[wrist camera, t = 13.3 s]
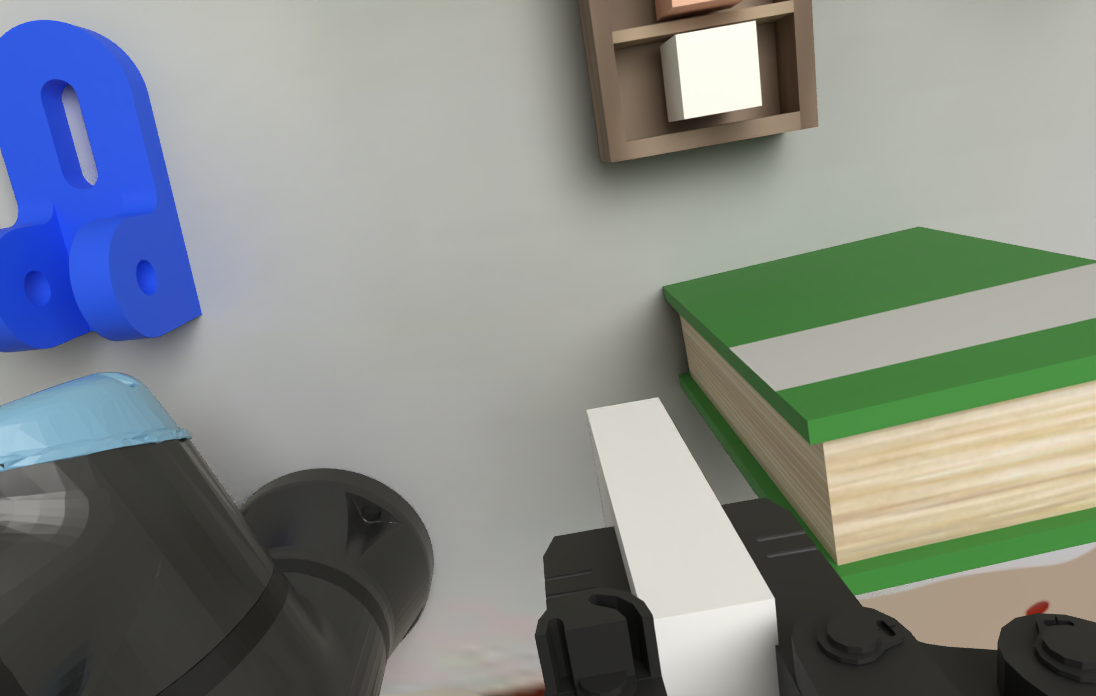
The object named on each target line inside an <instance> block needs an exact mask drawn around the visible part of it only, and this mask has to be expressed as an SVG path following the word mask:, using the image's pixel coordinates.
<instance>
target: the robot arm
mask: <svg viewBox="0 0 1096 696" xmlns="http://www.w3.org/2000/svg"><path fill="white" fill-rule="evenodd" d="M586 411H587V417H588V423H589V429H590V435H591V441H592V447H593V453H594V460H595V466H596V472H597V478H598V484H599V490H600V496H601V502H602V508H603V514H604V521H605V526H606V528H601V529H595V530H589V531H583V532H578V533H572V534H566V535H561V536H555V537H554V538H553V540H552V542H551V544H550V545H549V547H548V549H547V551H546V553H545V554H544V556H543V561H544V575H545V590H546V599H547V600H546V605H547V610H546V611H545V613H544V614H543V615H542V616H541V618H540V619H539V620H538V624H537V629H536V633H535V640H536V644H537V649H538V654H539V659H540V664H541V668H542V673H543V678H544V683H545V688H546V690H545V693H544V694H543V696H1096V623H1095V622H1092V621H1087V620H1084V619H1080V618H1076V617H1072V616H1068V615H1059V614H1041V613H1037V614H1032V615H1027V616H1022V617H1018V618H1015V619H1013V620H1012V621H1011V622H1009V623H1008V624H1006V625H1005V626H1004V627H1002V629H1001V632H1000V636H999V640H998V650H987V649H973V648H959V647H946V646H938V645H932V644H926V643H922V642H919V641H917V640H916V639H915V637H914V636H913V635H912V634H911V632H910V631H908V630H907V629H906V628H905V627H904V626H903V625H901V624H900V623H899V622H898V621H897V620H895V619H894V618H892V617H890V616H888V615H885V614H883V613H881V612H879V611H877V610H875V609H872V608H867V607H863V606H862V605H861V604H860V603H859V601H858V600H857V599H856V597H855V596H854V595H853V593H852V592H851V591H850V589H849V588H848V587H847V585H846V584H845V583H844V581H843V580H842V579H841V578H840V576H839V575H838V574H837V572H836V571H835V570H834V568H833V567H832V566H831V564H830V563H829V562H828V560H827V559H826V558H825V557H824V555H823V554H822V553H821V551H820V550H817V547H816V545H815V543H814V542H813V541H812V539H811V538H810V537H809V535H808V534H805V531H804V529H803V528H802V526H801V525H800V524H799V522H798V521H797V520H796V518H795V517H794V516H793V514H792V513H791V512H790V511H789V510H787V509H785V508H783V507H782V506H780V505H778V504H776V503H774V502H773V501H771V500H769V499H767V498H760V499H754V500H748V501H742V502H737V503H731V504H725V505H720V503H719V501H718V500H717V498H716V496H715V494H714V493H713V491H712V489H711V487H710V486H709V484H708V482H707V481H706V479H705V477H704V475H703V474H702V472H701V470H700V468H699V467H698V465H697V463H696V462H695V460H694V458H693V456H692V455H691V453H690V451H689V449H688V448H687V446H686V444H685V442H684V441H683V439H682V437H681V436H680V434H679V432H678V430H677V429H676V427H675V425H674V423H673V422H672V420H671V418H670V417H669V415H668V413H667V411H666V410H665V408H664V406H663V404H662V403H661V401H660V399H659V398H658V397H657V398H651V399H645V400H640V401H634V402H628V403H623V404H617V405H611V406H605V407H600V408H594V409H588V410H586ZM191 438H192V436H191V434H190V433H189V432H188V431H187V430H185V429H181V428H179V426H178V425H177V424H176V423H175V421H174V420H173V419H172V418H171V416H170V415H169V414H168V412H167V411H166V410H165V409H164V407H163V406H162V405H161V404H160V402H159V401H158V400H157V399H156V397H155V396H154V395H153V394H152V392H151V391H150V390H149V389H148V388H147V386H146V385H144V384H143V383H142V382H141V381H139V380H138V379H136V378H134V377H132V376H129V375H127V374H123V373H116V372H103V373H97V374H92V375H88V376H85V377H82V378H79V379H75V380H72V381H69V382H66V383H63V384H60V385H57V386H54V387H51V388H48V389H45V390H43V391H40V392H37V393H34V394H31V395H29V396H26V397H23V398H20V399H18V400H15V401H12V402H9V403H7V404H4V405H1V406H0V696H379V693H380V689H381V685H382V680H383V676H384V671H385V666H386V663H387V659H388V658H389V657H390V655H391V654H392V652H393V651H394V650H395V648H396V647H397V646H398V644H399V643H400V642H401V641H402V640H403V639H404V638H405V637H406V636H407V634H408V633H409V632H410V631H411V630H412V628H413V627H414V626H415V624H416V623H417V621H418V620H419V618H420V616H421V614H422V612H423V610H424V607H425V605H426V602H427V599H428V595H429V591H430V586H431V581H432V575H433V565H434V561H433V550H432V545H431V541H430V538H429V535H428V532H427V530H426V528H425V526H424V524H423V522H422V521H421V519H420V517H419V516H418V514H417V513H416V512H415V510H414V509H413V508H412V507H411V506H410V505H409V504H408V502H407V501H406V500H404V499H403V498H402V497H401V496H400V495H399V494H397V493H396V492H395V491H394V490H392V489H391V488H389V487H388V486H386V485H384V484H382V483H381V482H379V481H377V480H375V479H372V478H370V477H367V476H365V475H362V474H358V473H355V472H351V471H346V470H339V469H310V470H303V471H298V472H294V473H291V474H288V475H285V476H282V477H280V478H278V479H275V480H273V481H272V482H270V483H268V484H266V485H265V486H263V487H262V488H261V489H259V490H258V491H257V492H255V493H254V494H253V495H252V496H251V497H250V498H249V499H248V500H247V501H246V502H245V504H244V505H243V506H242V507H241V509H240V510H239V509H238V507H237V506H236V505H235V503H234V502H233V500H232V499H231V498H230V496H229V495H228V493H227V492H226V490H225V489H224V488H223V486H222V485H221V483H220V482H219V480H218V479H217V478H216V476H215V475H214V473H213V472H212V470H211V469H210V468H209V466H208V465H207V463H206V462H205V461H204V459H203V458H202V456H201V455H200V453H199V452H198V451H197V449H196V448H195V446H194V445H193V443H192V442H191V441H190V439H191Z"/></svg>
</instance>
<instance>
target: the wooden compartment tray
mask: <svg viewBox="0 0 1096 696" xmlns="http://www.w3.org/2000/svg"><path fill="white" fill-rule="evenodd" d="M578 4H579V11H580V18H581V25H582V32H583V39H584V46H585V53H586V60H587V67H588V74H589V82H590V89H591V96H592V103H593V110H594V117H595V124H596V131H597V138H598V145H599V152H600V159H601V161H602V162H609V163H613V162H618V161H624V160H630V159H635V158H641V157H647V156H653V155H658V154H664V153H670V152H675V151H681V150H687V149H693V148H698V147H704V146H710V145H715V144H721V143H727V142H732V141H738V140H744V139H750V138H755V137H761V136H767V135H772V134H778V133H784V132H789V131H795V130H801V129H807V128H812V127H818V112H817V93H816V74H815V55H814V36H813V17H812V0H743V1H741V2H740V3H738V4H737V5H735V6H733V7H732V8H730V9H726V10H720V11H714V12H709V13H703V14H697V15H691V16H686V17H680V18H674V19H669V20H663V21H657V16H656V7H655V0H578ZM751 21H756V31H757V45H758V58H759V71H760V85H761V98H762V106H757V107H752V108H746V109H741V110H735V111H729V112H724V113H718V114H712V115H707V116H701V117H695V118H690V119H684V120H678V121H672V122H668V114H667V105H666V96H665V87H664V79H663V70H662V61H661V52H660V46H661V45H662V44H663V43H665V42H666V41H668V40H669V39H670V38H672V37H673V36H674V35H677V34H683V33H688V32H694V31H700V30H705V29H711V28H717V27H722V26H728V25H734V24H740V23H745V22H751Z"/></svg>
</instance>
